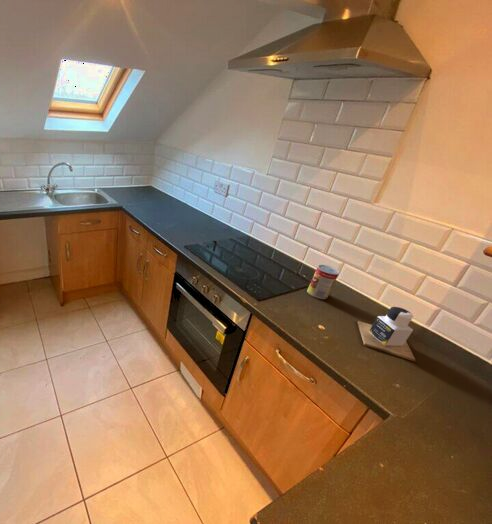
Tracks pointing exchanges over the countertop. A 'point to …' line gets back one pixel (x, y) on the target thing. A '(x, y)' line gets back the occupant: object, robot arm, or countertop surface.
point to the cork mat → (374, 343)
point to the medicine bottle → (392, 327)
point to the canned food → (322, 281)
